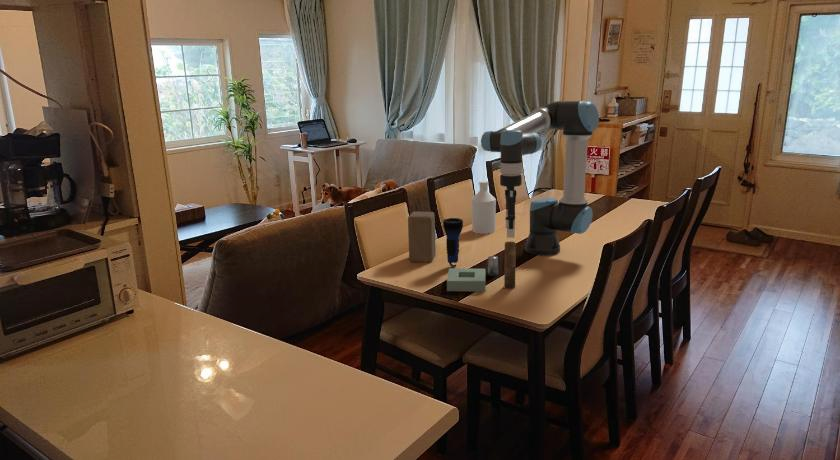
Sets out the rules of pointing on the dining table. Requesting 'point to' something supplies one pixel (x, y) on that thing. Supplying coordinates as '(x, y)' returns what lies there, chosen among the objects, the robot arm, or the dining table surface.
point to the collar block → (466, 280)
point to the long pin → (510, 265)
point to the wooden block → (421, 236)
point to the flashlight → (452, 238)
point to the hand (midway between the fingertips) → (509, 232)
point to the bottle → (483, 210)
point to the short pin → (493, 265)
